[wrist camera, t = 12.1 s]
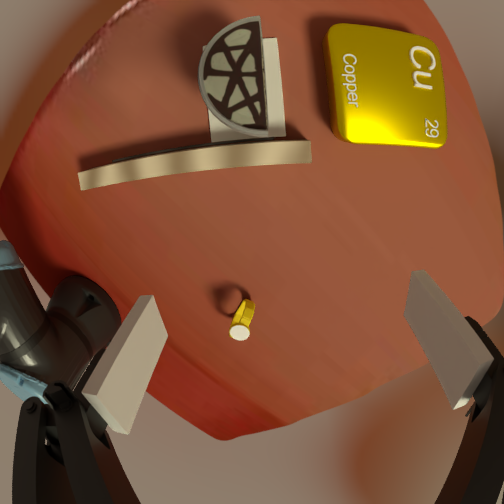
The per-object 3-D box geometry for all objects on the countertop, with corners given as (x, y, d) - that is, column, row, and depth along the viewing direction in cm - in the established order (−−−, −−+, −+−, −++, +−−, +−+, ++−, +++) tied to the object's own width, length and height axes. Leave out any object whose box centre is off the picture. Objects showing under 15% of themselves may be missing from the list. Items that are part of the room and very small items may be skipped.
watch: (243, 290, 41) (240, 312, 36) (259, 297, 42) (259, 320, 36) (226, 319, 44) (221, 342, 38) (242, 325, 44) (239, 350, 38)
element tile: (319, 32, 26) (325, 19, 21) (423, 45, 24) (440, 38, 20) (330, 142, 32) (339, 144, 27) (432, 146, 30) (450, 150, 26)
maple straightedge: (94, 184, 35) (81, 190, 32) (91, 165, 34) (77, 170, 31) (307, 159, 32) (311, 162, 29) (306, 135, 31) (310, 136, 28)
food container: (212, 46, 27) (190, 19, 18) (263, 41, 26) (259, 10, 17) (218, 138, 32) (197, 143, 23) (269, 135, 31) (268, 137, 22)
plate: (212, 142, 32) (211, 142, 32) (203, 46, 27) (202, 46, 27) (285, 136, 32) (285, 136, 31) (276, 38, 26) (276, 37, 26)
